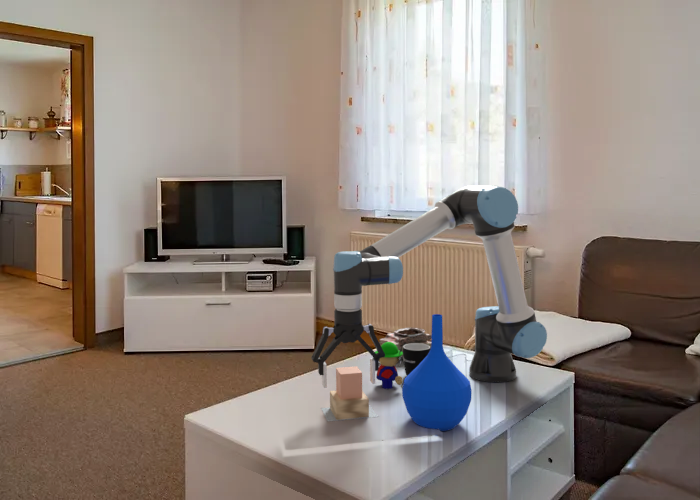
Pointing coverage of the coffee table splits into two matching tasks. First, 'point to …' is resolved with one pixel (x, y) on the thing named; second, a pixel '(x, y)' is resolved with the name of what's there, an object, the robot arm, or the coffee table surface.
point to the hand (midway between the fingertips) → (348, 384)
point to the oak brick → (349, 406)
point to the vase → (436, 387)
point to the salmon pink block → (349, 382)
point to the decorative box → (407, 337)
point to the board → (331, 417)
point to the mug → (414, 355)
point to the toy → (389, 365)
